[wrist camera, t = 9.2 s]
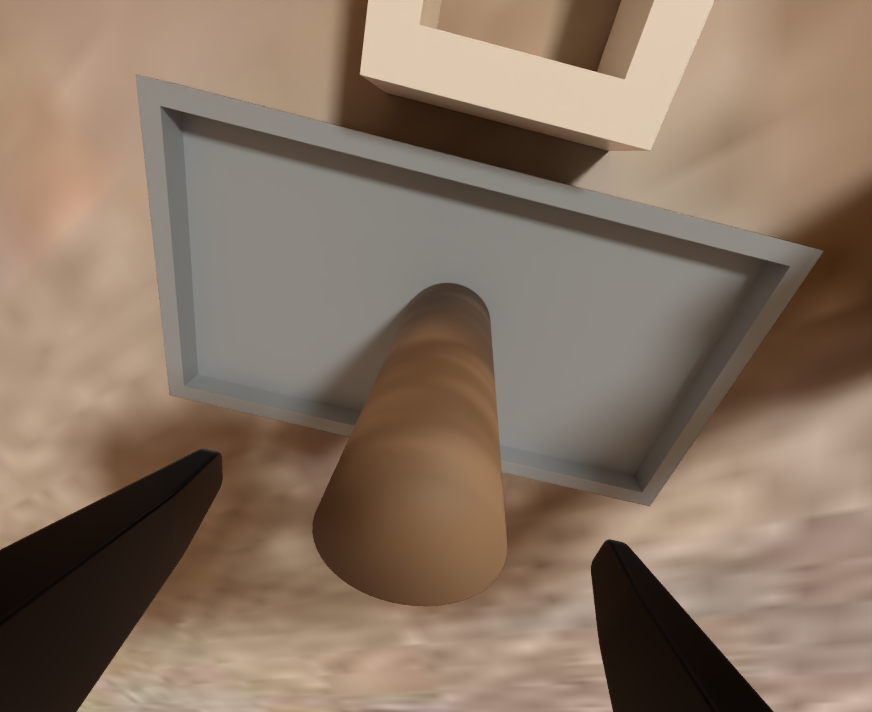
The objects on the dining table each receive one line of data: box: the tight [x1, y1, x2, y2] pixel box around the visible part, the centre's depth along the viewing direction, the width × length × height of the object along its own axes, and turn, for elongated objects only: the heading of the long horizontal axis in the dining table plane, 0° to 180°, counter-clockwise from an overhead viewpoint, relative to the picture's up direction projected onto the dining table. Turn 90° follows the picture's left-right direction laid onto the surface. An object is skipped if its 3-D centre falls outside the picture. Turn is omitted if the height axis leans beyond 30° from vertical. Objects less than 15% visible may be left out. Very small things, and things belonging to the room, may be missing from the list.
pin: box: [313, 283, 507, 606], centre depth 13 cm, size 4×4×12 cm
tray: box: [136, 74, 824, 506], centre depth 19 cm, size 26×14×2 cm, turn 77°
